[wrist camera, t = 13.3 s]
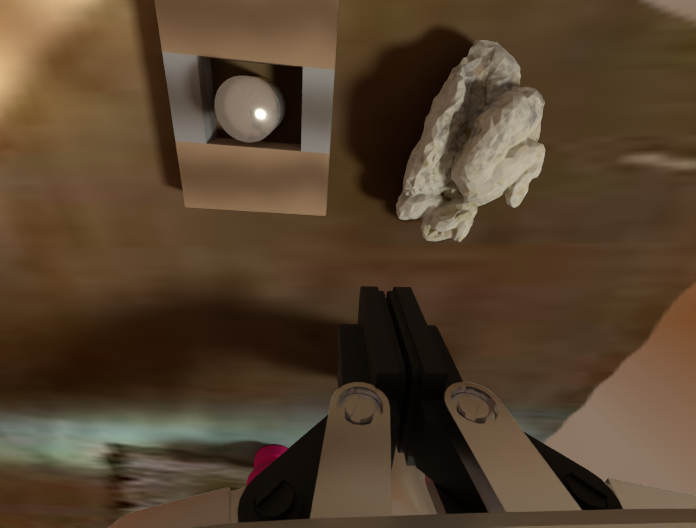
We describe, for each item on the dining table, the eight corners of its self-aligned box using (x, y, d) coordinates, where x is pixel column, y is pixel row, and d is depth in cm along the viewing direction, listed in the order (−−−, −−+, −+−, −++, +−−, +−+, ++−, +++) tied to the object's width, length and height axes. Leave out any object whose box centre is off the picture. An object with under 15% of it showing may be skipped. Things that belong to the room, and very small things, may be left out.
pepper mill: (258, 439, 53) (225, 615, 36) (302, 446, 55) (291, 618, 37) (247, 464, 56) (213, 638, 39) (289, 471, 58) (274, 640, 40)
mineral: (358, 220, 34) (423, 277, 27) (417, 15, 25) (534, 26, 19) (439, 218, 41) (507, 263, 34) (508, 57, 32) (617, 75, 25)
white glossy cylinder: (286, 132, 32) (277, 144, 25) (238, 128, 31) (217, 140, 25) (286, 79, 29) (276, 78, 23) (235, 74, 29) (211, 72, 23)
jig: (325, 204, 35) (325, 215, 32) (197, 195, 34) (185, 207, 31) (338, -13, 27) (340, -25, 24) (168, -35, 25) (146, -51, 22)
